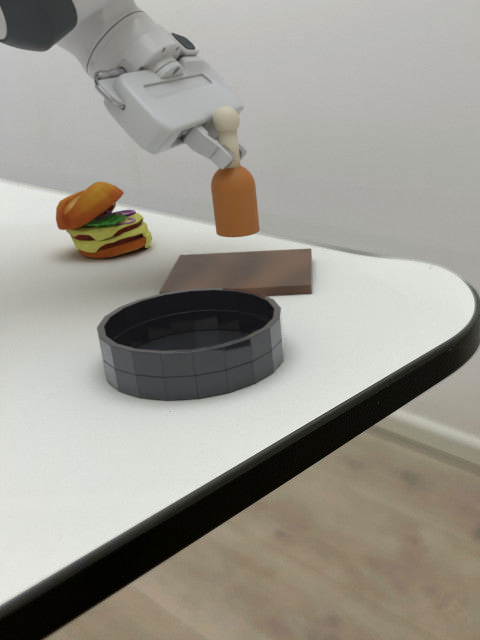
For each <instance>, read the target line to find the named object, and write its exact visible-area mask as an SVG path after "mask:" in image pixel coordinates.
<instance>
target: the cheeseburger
mask: <svg viewBox="0 0 480 640" xmlns="http://www.w3.org/2000/svg"><path fill="white" fill-rule="evenodd" d="M123 195H124V191H123V189H121V188H119V187H118V186H116V185H114V184H112V183H109V182H106V181H96V182H94V183H92V184H91V185H89V186H88V187H87V188H85V189H84V190H80V191H77V192H76V193H75V192H74V193H73V194H71V195H68V196H66V197H64V198H62V199H61V200H59V202H58V204H57V206H56V210H55V222H56V227H57V228H58V230H61V231H66V233H68V234H69V236H70V238H71V240H72V242H73V243H74V246H75V247H76V249H77V251H78V252H79V254H80V255H82V256H85V257H87V258H92V259H98V260H99V259H101V260H102V259H109V258H114V257H117V256H120V255H124V254H127V253H130V252H134V251H137V250H139V249H142V248H145V249H148V248H150V246H151V244H152V241H153V236H152V235H153V234H152V232H151V231H150V230H149V229H148V224H147V222H145V220H144V219H145V218H144V216H143V215H142V214H141V213H139V212H137V211H136V210H135V209H122V210H118V211H114V210H115V209H116V206H117V202H118V201H119V200H120V199H121V198H122V196H123Z"/></svg>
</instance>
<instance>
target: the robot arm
mask: <svg viewBox="0 0 480 640" xmlns="http://www.w3.org/2000/svg"><path fill="white" fill-rule="evenodd" d="M0 43H1V44H3V45H6V46H9V47H11V48H15V49H20V50H24V51H31V52H38V53H44V52H47V51H49V50H50V49H51V48H53V47H54V46H55V45H57V46H58V47H60V48H61V49H62V50H65V51H67V52H69V53H70V54H71V55H72V56H73V57H75V59H76V60H77V61H78V63H79V64H80V65H81V68H82V69H83V71H84V72H85V73H86V74H87V75H88V76H89V77H90V78H91V79H92V80H93V83H94V89H95V90H96V92H97V93H99V95H101V96H102V98H103V104H104V107H105V109H106V110H107V112H108V113H109V114H110V116H111V117H112V118H113V119H114V121H115V122H116V123H117V124H118V125H119V126H120V128H121V129H122V130H123V131H124V132H125V133H126V134H127V135H128V136H129V137H130V138H131V139H132V141H134V142H135V143H136V145H137V146H138V147H139V148H141V149H142V150H144V151H145V152H147V153H149V154H151V155H158V154H161V153H164V152H166V151H169V150H172V149H174V148H177V147H180V146H182V145H186V146H188V148H189V149H191V150H192V151H193V152H195V153H197V154H199V155H201V156H202V157H204V158H206V159H208V160H210V161H211V162H212V163H213V164H214V165H215V166H216V167H217V168H218V169H219V168H220V169H224V168H226V167H228V166H230V165H231V163H232V162H233V161H234V160H235V154H234V153H233V152H232V151H230V149H229V148H228V147H227V146H226V145H221V144H219V137H218V130H217V129H216V128H215V126H214V124H213V115H214V113H215V111H216V110H217V109H218V108H220V107H223V106H229V107H231V108H233V109H235V110H236V112H237V113H238V115H239V116H240V114H241V113H242V112H243V110H244V108H245V106H244V103H243V101H242V98H241V97H240V95H239V94H238V93H237V92H236V91H235V89H234V88H233V87H232V86H231V85H230V84H229V83H228V81H227V80H226V79H225V78H224V77H223V75H221V74H220V73H219V72H218V71H217V69H215V68H214V67H213V65H211V64H210V63H209V62H208V61H207V60H205V59H204V58H203V57H201V56H198V54H199V53H200V50H201V49H200V48H199V46H198V45H197V44H196V43H195V42H194V41H193V40H192V39H191V38H189V37H187V36H184V35H181V34H177V33H175V32H172V31H170V30H168V29H167V28H166V27H164V26H162V24H159V23H157V22H155V20H153V19H152V17H151V16H149V14H148V13H146V11H144V10H142V9H141V8H140V7H139V6H138V5H137V4H136V2H135V0H0ZM238 145H239V155H240V162H241V161H242V160H243V159H244V158H245V157H246V155H247V154H248V149H247V148H246V146H244V145H243V143H242V142H241V141H239V140H238Z"/></svg>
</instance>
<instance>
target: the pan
mask: <svg viewBox="0 0 480 640" xmlns="http://www.w3.org/2000/svg"><path fill="white" fill-rule="evenodd" d="M283 327H284V326H283V316H282V307H281V306H280V305H279V303H278V302H277V301H276V300H275V299H274V298H272V297H270V296H265V295H262V294H260V293H257V292H251V291H246V290H241V289H229V288H200V289H187V290H180V291H173V292H167V293H161V294H159V293H157V294H153V295H150V296H146V297H142V298H139V299H136V300H134V301H131V302H129V303H126V304H124V305H121V306H118V307H117V308H115V309H113V310H112V311H110V313H108V314H106V315H105V316H104V317H102V319H101V321H100V322H99V323H98V325H97V326H96V331H97V337H98V342H99V348H100V354H101V358H102V364H103V368H104V373H105V380H106V382H107V383H108V384H109V385H110V386H111V387H112V388H113V389H115V390H116V391H118V392H120V393H122V394H125V395H127V396H130V397H134V398H138V399H142V400H143V399H144V400H151V401H164V402H165V401H166V402H169V401H170V402H175V401H178V402H179V401H181V402H182V401H192V400H193V401H194V400H200V399H207V398H208V399H209V398H215V397H218V396H223V395H227V394H231V393H235V392H237V391H240V390H244V389H245V388H248V387H250V386H253V385H255V384H257V383H259V382H261V381H263V380H265V379H266V378H268V377H269V376H271V375H272V374H273V373H275V371H277V370H278V369H279V368H280V366H281V365H282V363H283V362H284V359H285V342H284V341H285V339H284V338H285V337H284V329H283Z"/></svg>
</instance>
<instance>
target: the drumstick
mask: <svg viewBox="0 0 480 640" xmlns="http://www.w3.org/2000/svg"><path fill="white" fill-rule="evenodd" d="M240 123H241V120H240V114H239V115H238V113H237V112H236V110H235V109H233V108H231V107H229V106H223V107H220V108H218V109H217V110H216V111H215V113H214V115H213V124H214V126H215V128H216V129H217V130H218V137H219V144H221V145H226V146H227V147H228V148H229V149H230V151H232V152H233V153H234V154H235V160H234V161H233V162H232V163H231V165H230V166H228V167H226V168H224V169H220V168H219V167H218V169H217V170H215V172H214V173H213V175H212V178H211V182H210V190H211V198H212V199H211V200H212V207H213V216H214V225H215V233H216V235H217V236H219V237H222V238H242V237H248V236H252V235H255V234H257V233H259V232H260V221H259V220H260V219H259V210H258V209H259V208H258V198H257V197H258V196H257V187H256V180H255V178H254V176H253V175H252V173H251V172H250V171H249V170H248V169H247V168H246V167H244V166H243V165H241V161H240V155H239V145H238V141H239V138H238V137H239V136H238V128H239V127H240Z"/></svg>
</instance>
